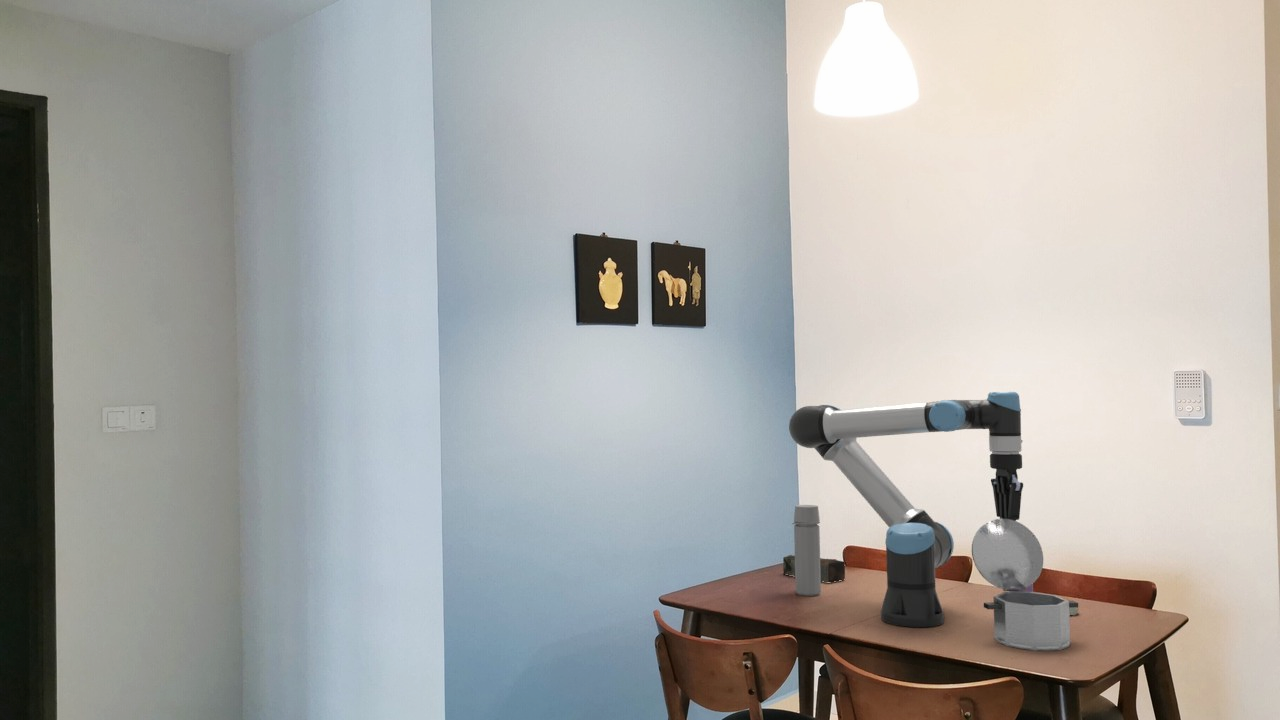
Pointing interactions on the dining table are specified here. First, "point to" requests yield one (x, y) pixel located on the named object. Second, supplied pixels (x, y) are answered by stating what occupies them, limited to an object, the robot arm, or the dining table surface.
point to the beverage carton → (828, 568)
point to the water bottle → (807, 550)
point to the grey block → (1072, 609)
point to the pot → (1031, 620)
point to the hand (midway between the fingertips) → (1008, 547)
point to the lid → (1007, 554)
